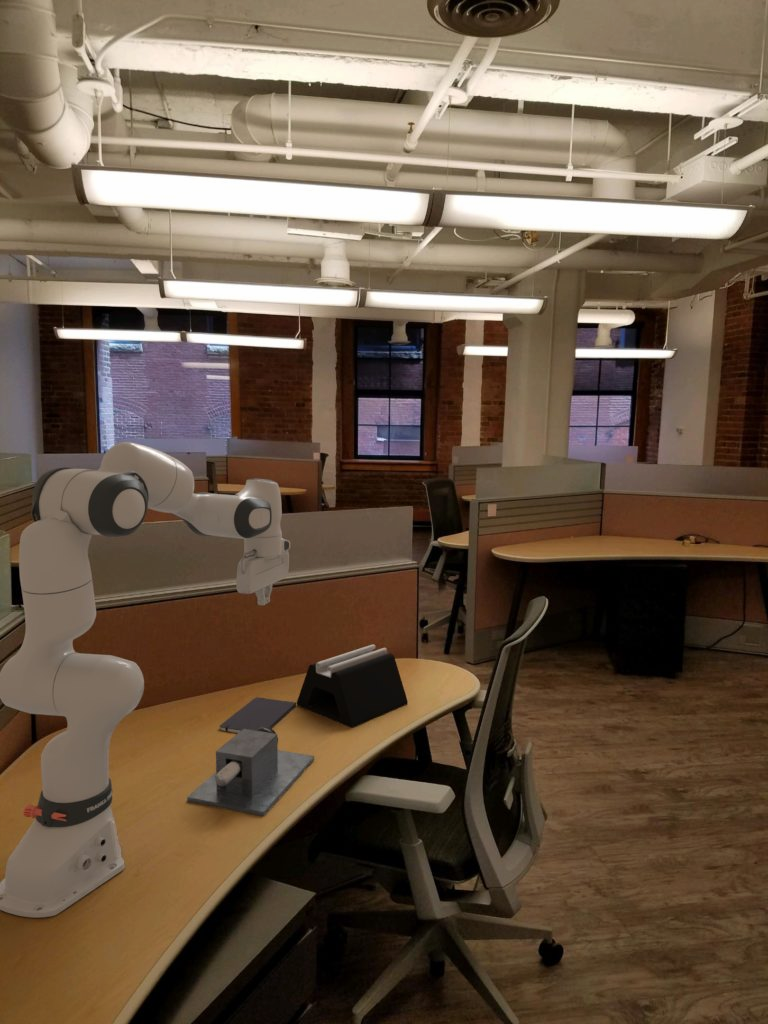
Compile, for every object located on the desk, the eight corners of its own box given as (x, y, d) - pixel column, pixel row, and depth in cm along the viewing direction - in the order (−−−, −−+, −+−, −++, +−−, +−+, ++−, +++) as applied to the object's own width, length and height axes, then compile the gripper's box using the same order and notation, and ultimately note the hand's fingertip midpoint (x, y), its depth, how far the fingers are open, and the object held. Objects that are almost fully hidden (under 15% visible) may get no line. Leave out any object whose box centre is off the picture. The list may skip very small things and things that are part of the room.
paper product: (262, 739, 182) (296, 707, 202) (262, 733, 182) (296, 702, 202) (218, 732, 185) (256, 702, 206) (218, 726, 185) (255, 696, 205)
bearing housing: (263, 816, 145) (263, 769, 144) (187, 801, 150) (186, 756, 149) (314, 759, 169) (314, 719, 168) (247, 748, 175) (246, 709, 174)
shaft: (234, 795, 145) (234, 767, 145) (209, 790, 147) (208, 763, 146) (278, 753, 164) (278, 728, 163) (255, 749, 166) (254, 724, 165)
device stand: (296, 706, 202) (296, 655, 201) (352, 685, 219) (352, 638, 217) (352, 729, 188) (352, 674, 186) (407, 704, 204) (408, 654, 202)
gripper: (254, 555, 156) (254, 616, 158) (293, 541, 176) (293, 595, 177) (228, 553, 158) (229, 613, 160) (270, 539, 178) (271, 593, 179)
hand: (263, 603), depth 169 cm, fingers closed
